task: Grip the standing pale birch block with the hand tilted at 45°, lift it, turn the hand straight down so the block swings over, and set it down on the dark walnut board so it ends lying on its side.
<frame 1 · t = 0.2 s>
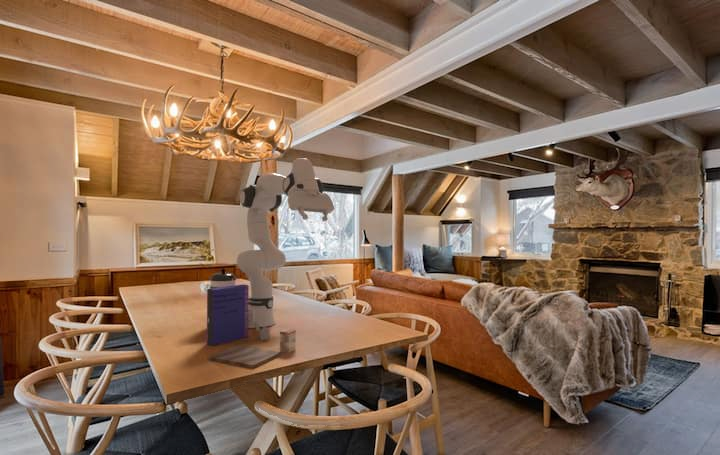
hand: (315, 219, 151), 53 cm above the table, tool tilted 30°, fingers open, 8 cm apart
cereal box: (228, 341, 165), on the table
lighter: (261, 339, 167), on the table
birch block: (287, 350, 152), on the table
walnut board: (244, 357, 143), on the table
coffee press: (224, 327, 190), on the table, touching arm
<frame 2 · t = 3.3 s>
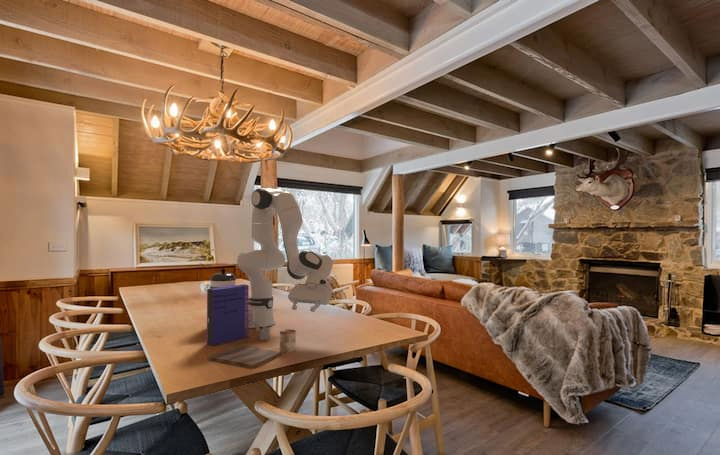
hand: (302, 310, 162), 14 cm above the table, tool tilted 45°, fingers open, 8 cm apart
nothing on the table moved.
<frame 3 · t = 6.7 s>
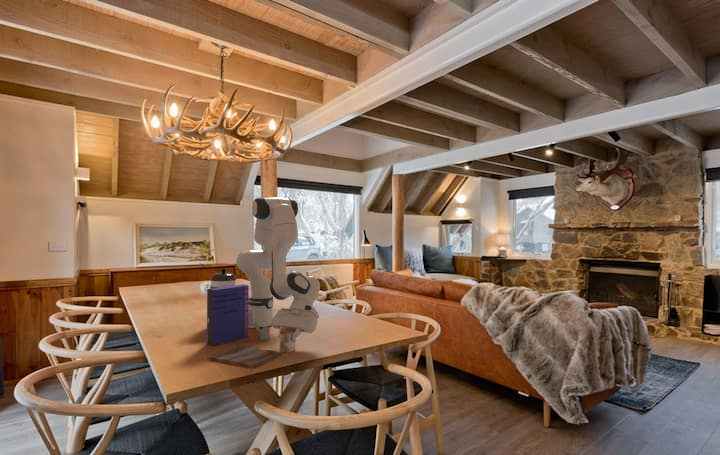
hand: (286, 338, 151), 5 cm above the table, tool tilted 45°, fingers closed on birch block, 4 cm apart
birch block: (287, 350, 152), on the table, touching gripper
everything else where it was.
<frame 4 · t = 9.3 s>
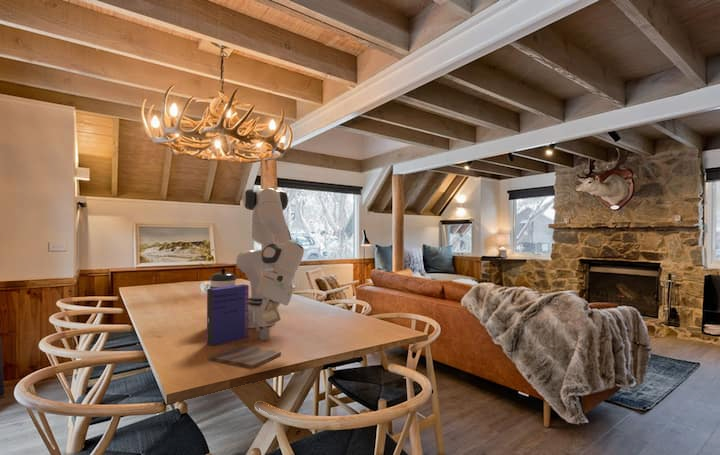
hand: (267, 311, 148), 17 cm above the table, tool tilted 25°, fingers closed on birch block, 4 cm apart
birch block: (272, 321, 145), point 13 cm above the table, tilted 37°, touching gripper
everything else where it was.
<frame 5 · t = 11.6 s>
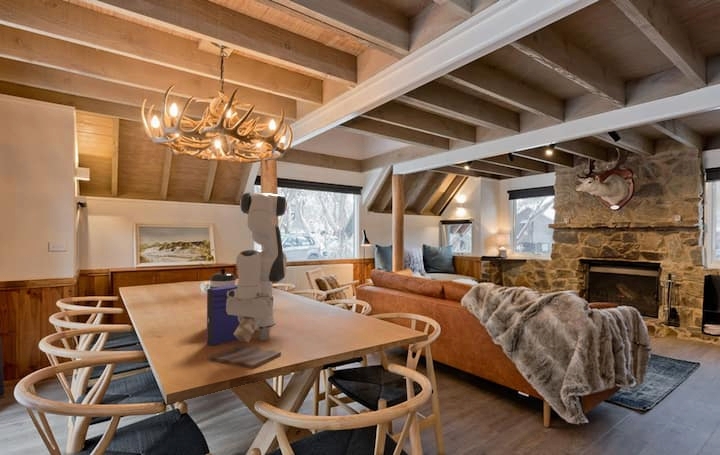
hand: (249, 328, 144), 11 cm above the table, tool pointing down, fingers closed on birch block, 4 cm apart
birch block: (240, 338, 140), point 8 cm above the table, tilted 45°, touching gripper
everything else where it was.
when the fingers open (6 cm above the table, at t = 13.5 s): birch block moves 2 cm and tips over, resting on walnut board.
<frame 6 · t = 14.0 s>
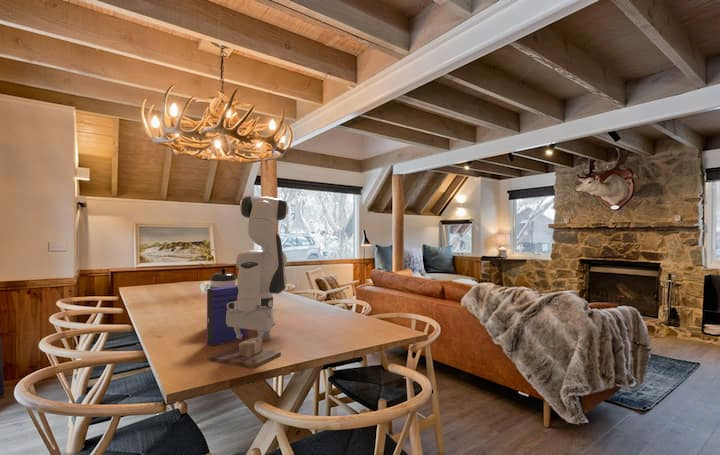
hand: (248, 340, 144), 6 cm above the table, tool pointing down, fingers open, 8 cm apart
birch block: (243, 349, 141), point 3 cm above the table, tilted 90°, touching walnut board
everything else where it was.
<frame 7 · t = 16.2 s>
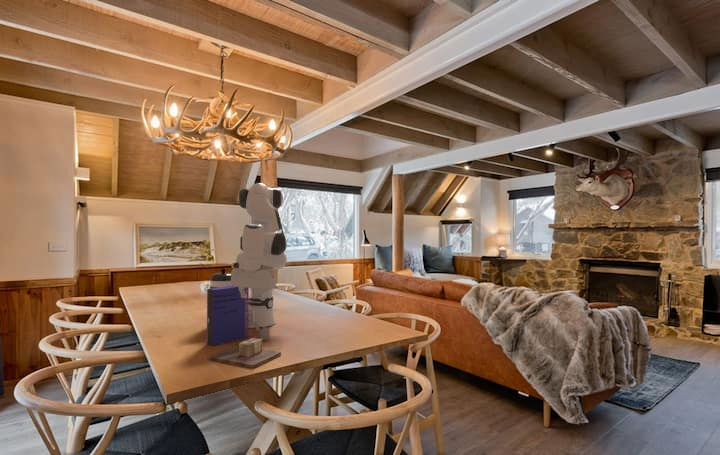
hand: (253, 299, 148), 22 cm above the table, tool pointing down, fingers open, 8 cm apart
nothing on the table moved.
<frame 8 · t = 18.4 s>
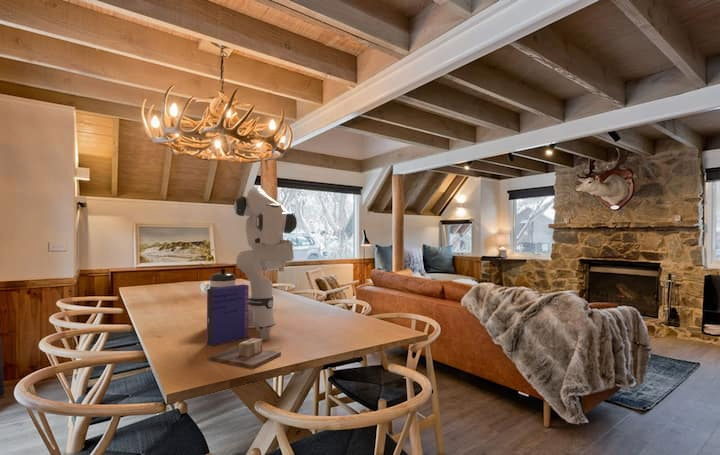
hand: (272, 270, 165), 31 cm above the table, tool pointing down, fingers open, 8 cm apart
nothing on the table moved.
at the end: birch block tilted 90°; birch block inside the target area on the walnut board (1.9 cm from its centre), point 3.4 cm above the walnut board's base; the gripper is holding nothing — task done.
